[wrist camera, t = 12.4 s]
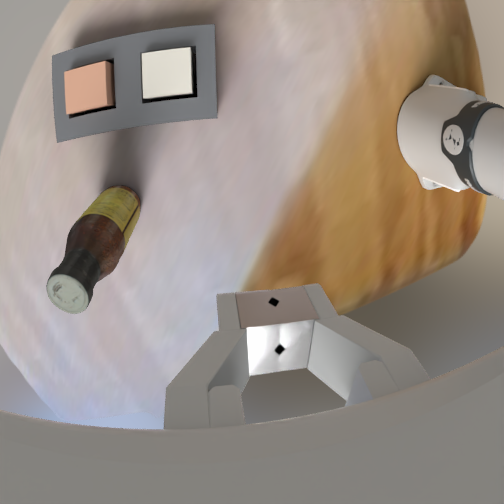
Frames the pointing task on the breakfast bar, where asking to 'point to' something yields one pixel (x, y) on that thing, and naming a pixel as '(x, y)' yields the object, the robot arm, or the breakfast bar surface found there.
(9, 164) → the breakfast bar surface
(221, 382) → the robot arm
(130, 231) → the sauce bottle
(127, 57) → the keypad
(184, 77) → the cream key
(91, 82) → the terracotta key
